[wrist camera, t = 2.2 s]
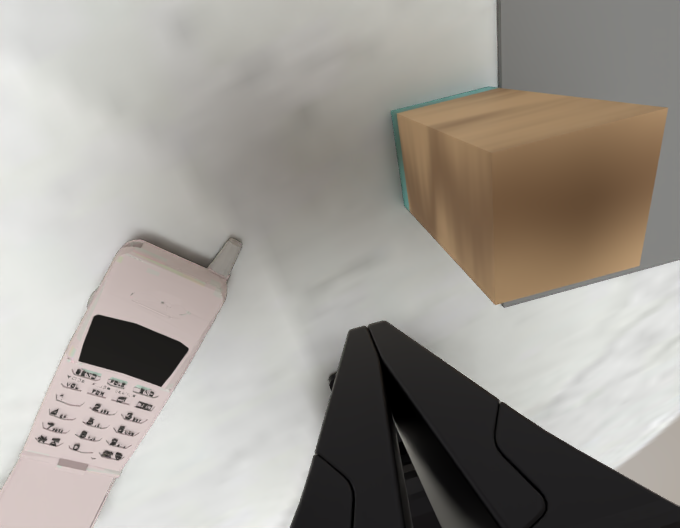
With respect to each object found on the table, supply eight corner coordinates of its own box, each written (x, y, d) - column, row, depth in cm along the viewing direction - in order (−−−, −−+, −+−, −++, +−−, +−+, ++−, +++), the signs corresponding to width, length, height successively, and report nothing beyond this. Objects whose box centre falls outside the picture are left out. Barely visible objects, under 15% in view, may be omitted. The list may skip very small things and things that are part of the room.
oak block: (490, 183, 22) (639, 265, 13) (404, 205, 22) (495, 305, 13) (488, 86, 19) (668, 107, 11) (391, 110, 19) (491, 152, 10)
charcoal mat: (686, 254, 26) (691, 256, 26) (501, 305, 26) (504, 307, 26) (786, -152, 17) (794, -155, 17) (496, -85, 16) (499, -87, 16)
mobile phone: (-63, 599, 22) (99, 240, 14) (0, 495, 27) (144, 190, 19) (56, 609, 24) (252, 305, 16) (93, 511, 29) (255, 245, 22)
